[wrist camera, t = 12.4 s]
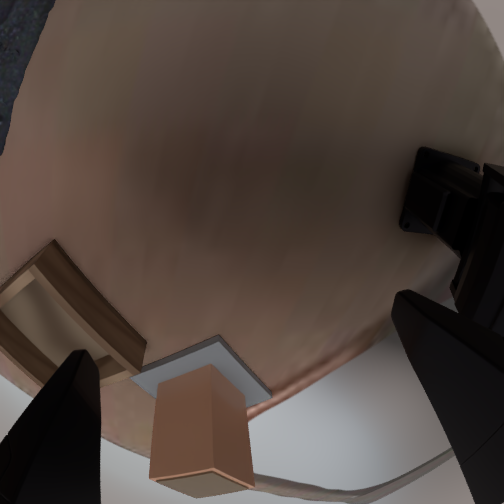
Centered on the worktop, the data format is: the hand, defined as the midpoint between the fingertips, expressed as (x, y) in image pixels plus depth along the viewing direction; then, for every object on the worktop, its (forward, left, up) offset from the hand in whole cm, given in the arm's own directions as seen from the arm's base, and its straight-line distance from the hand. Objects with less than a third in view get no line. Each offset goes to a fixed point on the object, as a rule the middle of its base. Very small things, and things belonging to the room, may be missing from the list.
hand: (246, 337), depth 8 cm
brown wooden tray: (+14, +13, -13) cm, 23 cm away
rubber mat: (+1, +20, -13) cm, 24 cm away
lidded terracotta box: (+1, +20, -13) cm, 23 cm away
